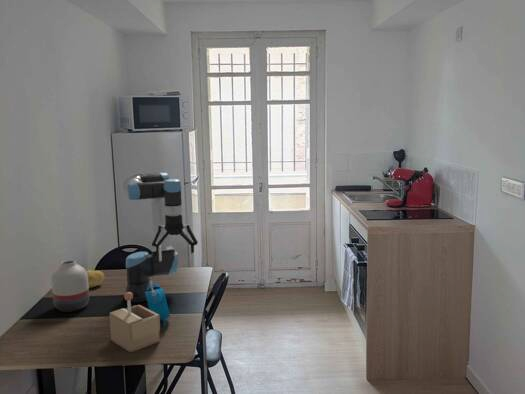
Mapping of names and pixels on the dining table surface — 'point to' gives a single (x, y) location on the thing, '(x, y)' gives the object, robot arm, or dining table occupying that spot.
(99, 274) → the potato
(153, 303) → the blue rounded piece
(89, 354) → the dining table surface
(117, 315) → the flap
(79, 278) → the vase
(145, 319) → the carton
